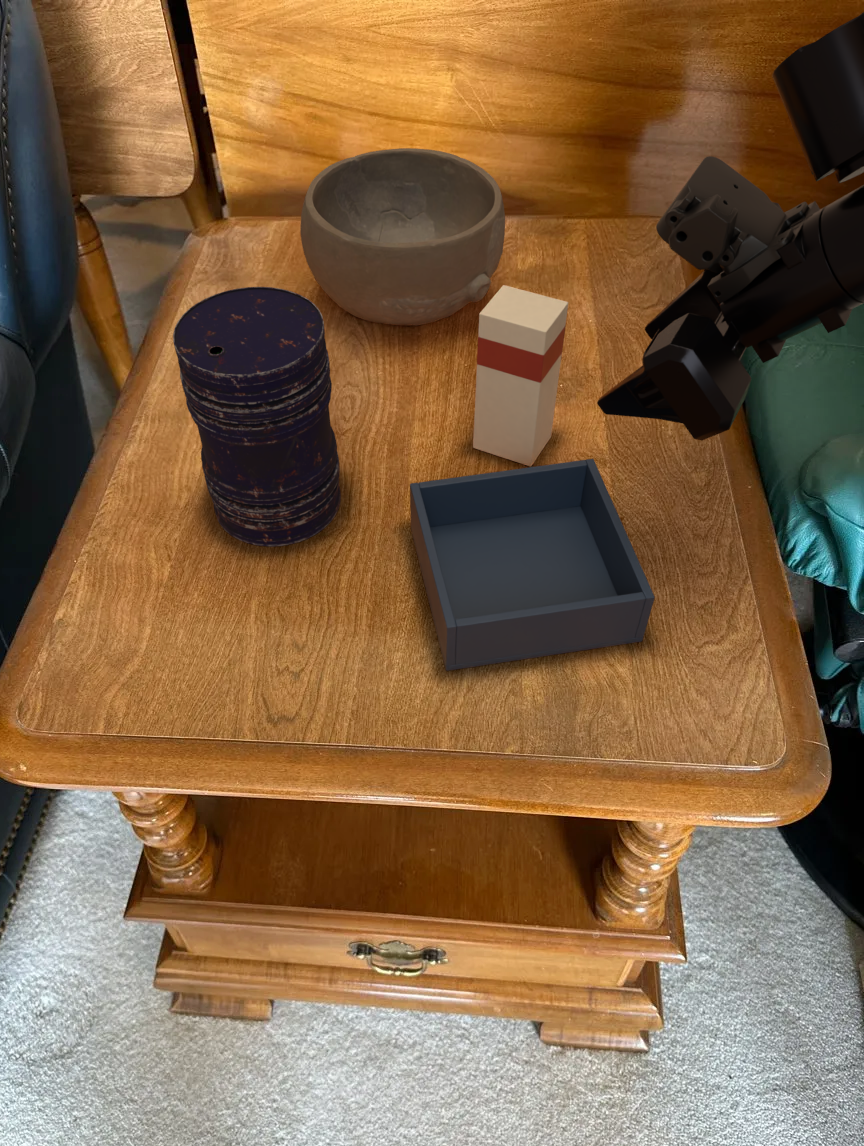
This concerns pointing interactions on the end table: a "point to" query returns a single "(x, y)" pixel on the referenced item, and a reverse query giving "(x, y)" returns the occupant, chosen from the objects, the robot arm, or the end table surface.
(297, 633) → the end table surface
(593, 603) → the box
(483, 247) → the bowl
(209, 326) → the dark blue cylinder
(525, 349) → the plate
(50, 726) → the end table surface
